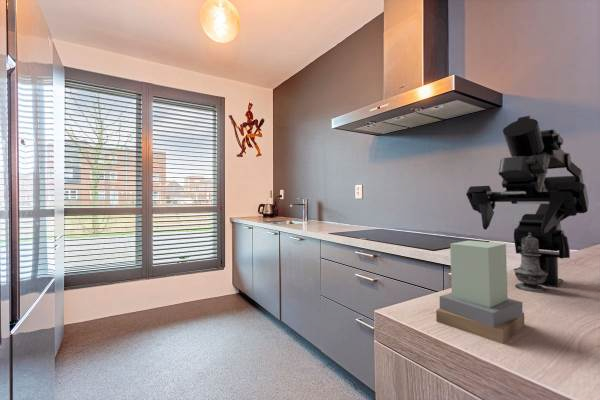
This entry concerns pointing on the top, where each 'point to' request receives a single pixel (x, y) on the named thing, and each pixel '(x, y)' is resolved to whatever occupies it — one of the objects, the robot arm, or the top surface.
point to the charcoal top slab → (482, 310)
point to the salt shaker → (530, 266)
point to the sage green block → (479, 272)
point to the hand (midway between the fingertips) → (511, 229)
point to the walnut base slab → (481, 326)
